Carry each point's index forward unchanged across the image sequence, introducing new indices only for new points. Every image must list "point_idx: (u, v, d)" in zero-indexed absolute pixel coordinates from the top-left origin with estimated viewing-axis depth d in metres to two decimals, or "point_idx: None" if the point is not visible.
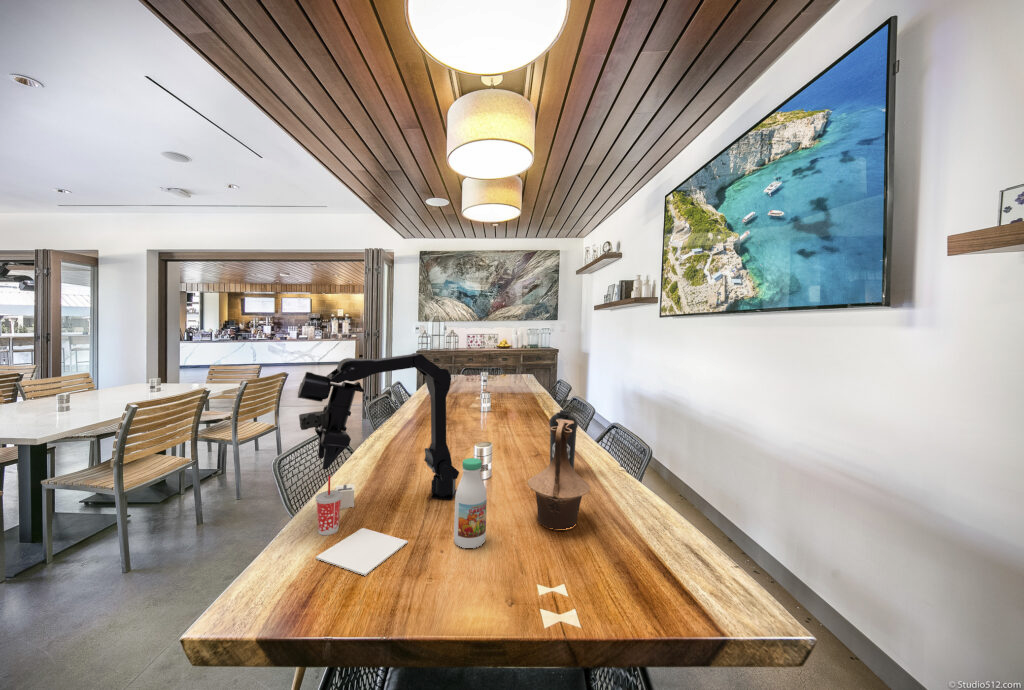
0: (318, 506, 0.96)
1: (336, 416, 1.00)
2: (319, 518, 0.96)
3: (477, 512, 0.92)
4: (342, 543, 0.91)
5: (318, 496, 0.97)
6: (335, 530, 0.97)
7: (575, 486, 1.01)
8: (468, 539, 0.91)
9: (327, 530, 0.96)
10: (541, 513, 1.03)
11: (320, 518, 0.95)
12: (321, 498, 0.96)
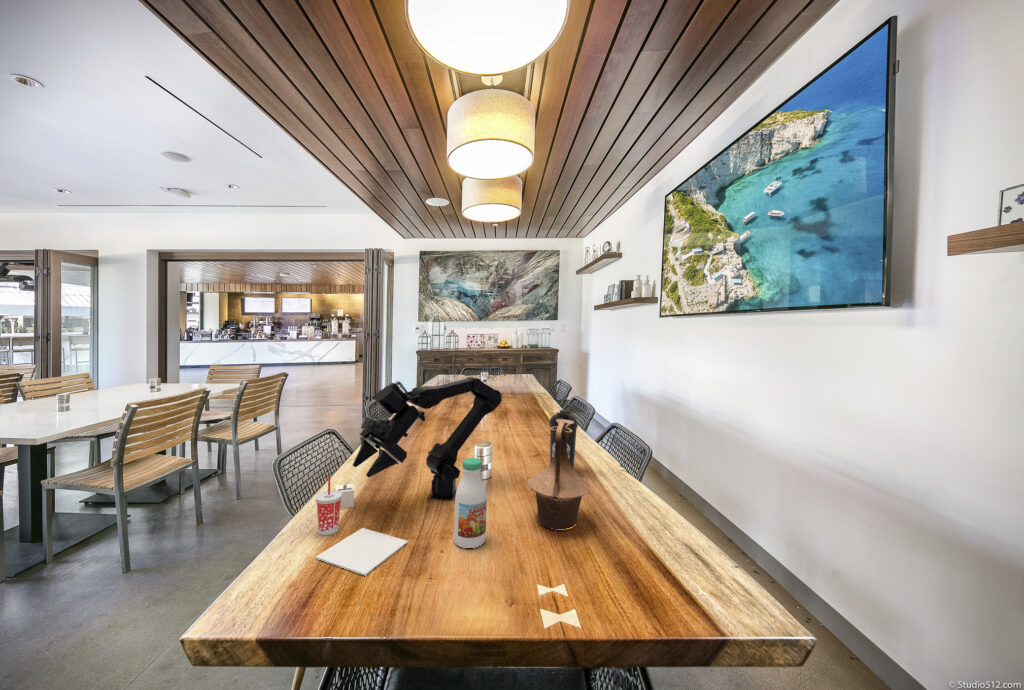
0: (318, 506, 0.96)
1: (397, 432, 1.06)
2: (319, 518, 0.96)
3: (477, 512, 0.92)
4: (342, 543, 0.91)
5: (318, 496, 0.97)
6: (335, 530, 0.97)
7: (575, 486, 1.01)
8: (468, 539, 0.91)
9: (327, 530, 0.96)
10: (541, 513, 1.03)
11: (320, 518, 0.95)
12: (321, 498, 0.96)
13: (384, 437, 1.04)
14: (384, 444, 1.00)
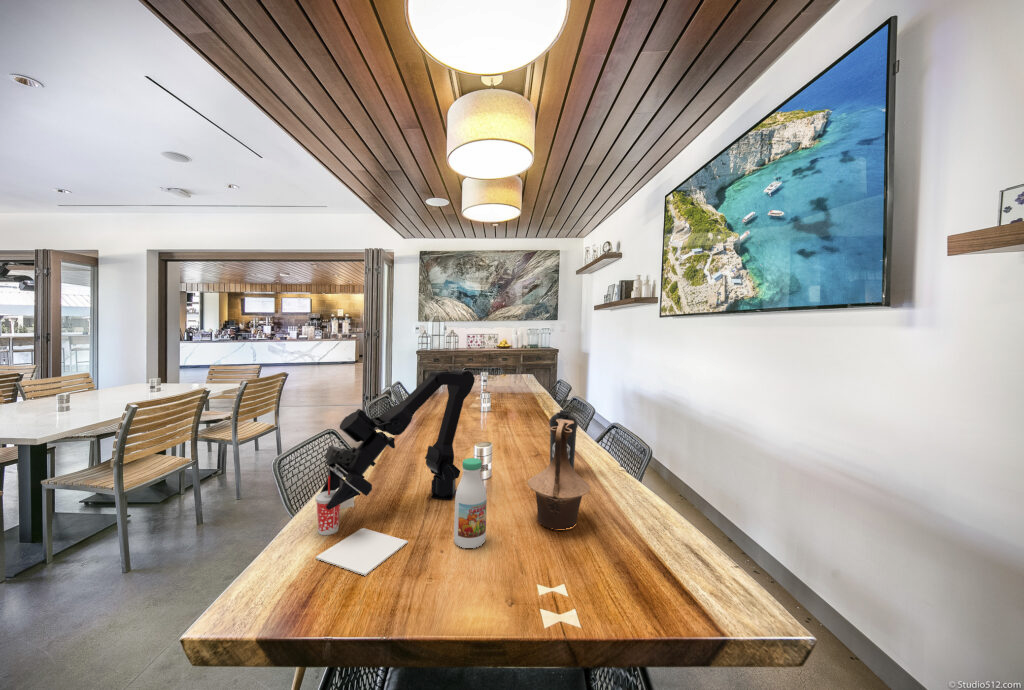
0: (318, 506, 0.96)
1: (363, 461, 1.00)
2: (319, 518, 0.96)
3: (477, 512, 0.92)
4: (342, 543, 0.91)
5: (318, 496, 0.97)
6: (335, 530, 0.97)
7: (575, 486, 1.01)
8: (468, 539, 0.91)
9: (327, 530, 0.96)
10: (541, 513, 1.03)
11: (320, 518, 0.95)
12: (321, 498, 0.96)
13: (348, 468, 0.98)
14: (347, 476, 0.94)
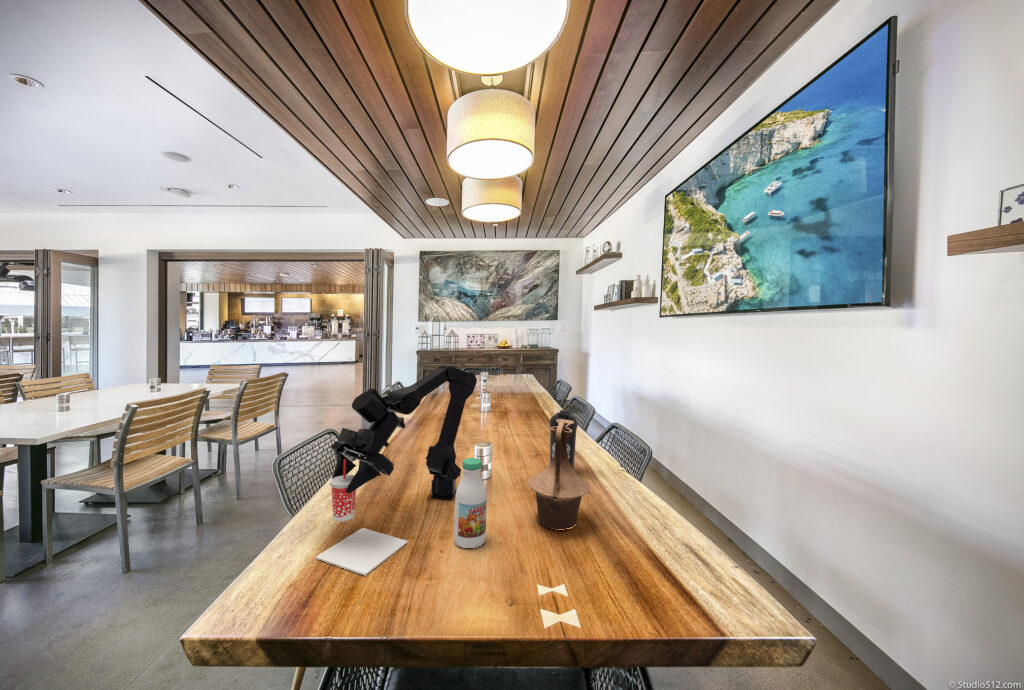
0: (335, 491, 0.90)
1: (379, 442, 0.97)
2: (336, 504, 0.90)
3: (477, 512, 0.92)
4: (342, 543, 0.91)
5: (333, 481, 0.91)
6: (352, 515, 0.93)
7: (575, 486, 1.01)
8: (468, 539, 0.91)
9: (345, 515, 0.91)
10: (541, 513, 1.03)
11: (338, 503, 0.90)
12: (337, 483, 0.91)
13: (366, 449, 0.93)
14: (369, 457, 0.90)
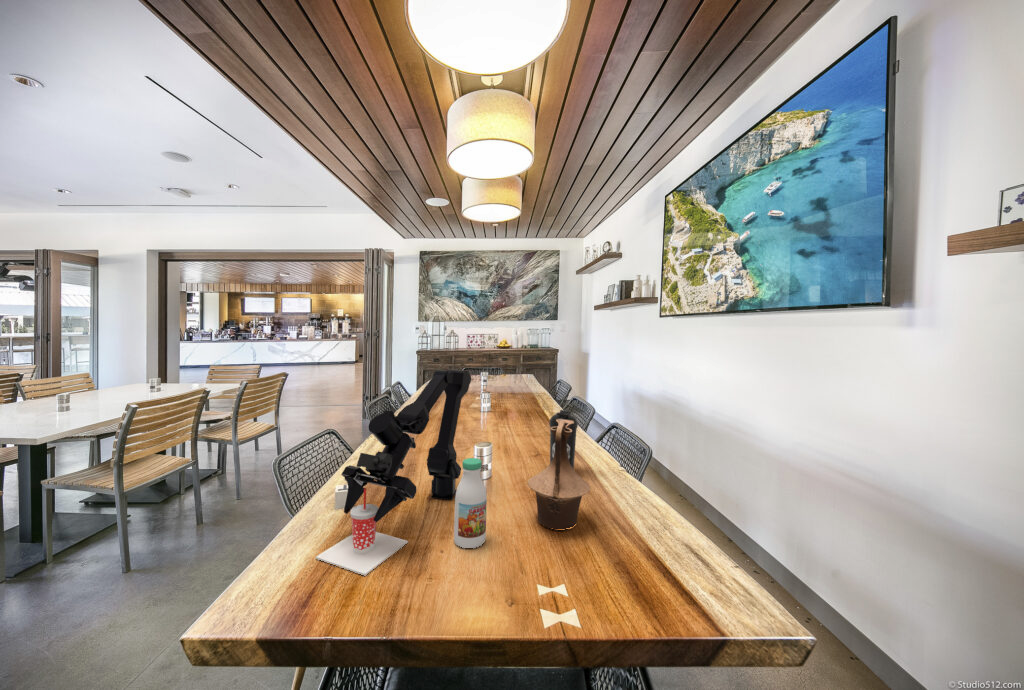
0: (357, 523, 0.87)
1: (396, 464, 0.95)
2: (359, 536, 0.87)
3: (477, 512, 0.92)
4: (342, 543, 0.91)
5: (353, 513, 0.88)
6: None
7: (575, 486, 1.01)
8: (468, 539, 0.91)
9: (368, 547, 0.88)
10: (541, 513, 1.03)
11: (361, 535, 0.87)
12: (359, 514, 0.87)
13: (386, 473, 0.91)
14: (393, 481, 0.89)
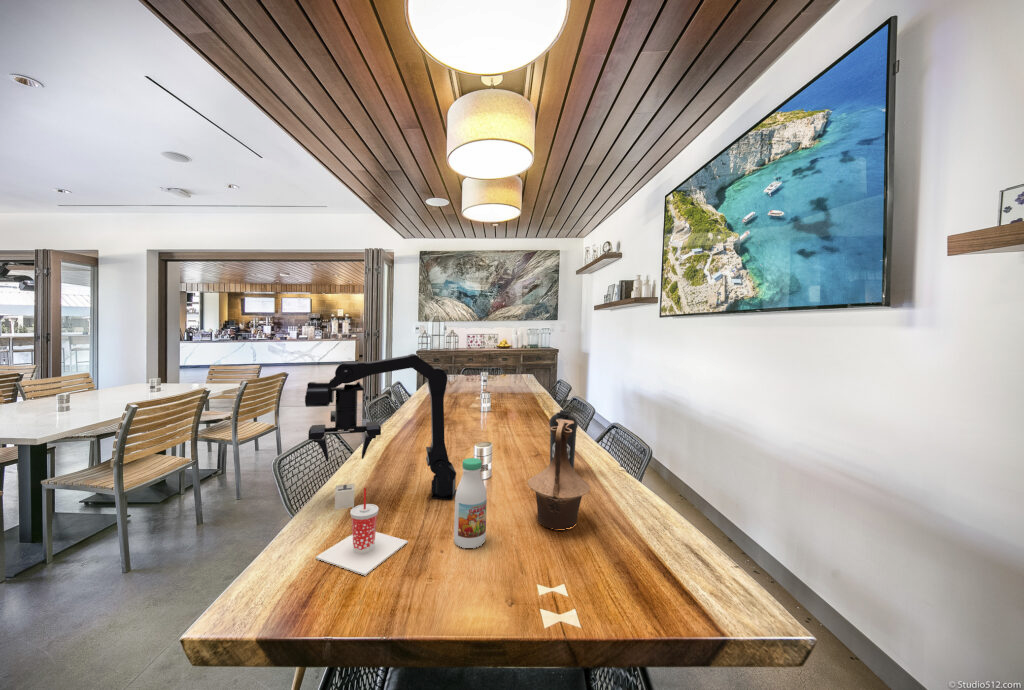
0: (357, 523, 0.87)
1: None
2: (359, 536, 0.87)
3: (477, 512, 0.92)
4: (342, 543, 0.91)
5: (353, 513, 0.88)
6: None
7: (575, 486, 1.01)
8: (468, 539, 0.91)
9: (368, 547, 0.88)
10: (541, 513, 1.03)
11: (361, 535, 0.87)
12: (359, 514, 0.87)
13: None
14: None
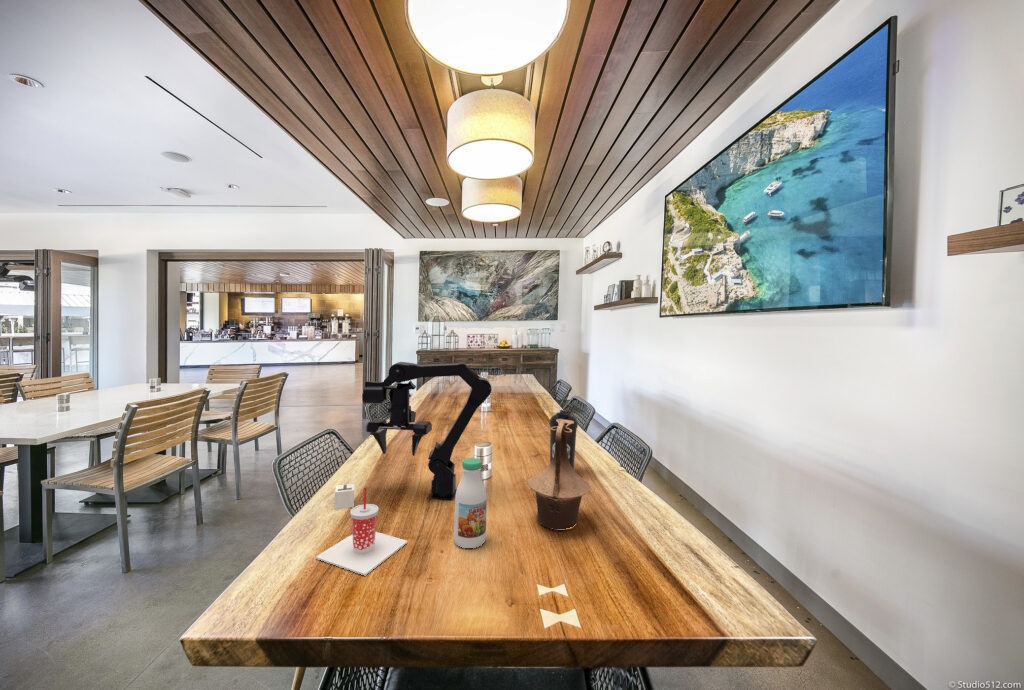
0: (357, 523, 0.87)
1: None
2: (359, 536, 0.87)
3: (477, 512, 0.92)
4: (342, 543, 0.91)
5: (353, 513, 0.88)
6: None
7: (575, 486, 1.01)
8: (468, 539, 0.91)
9: (368, 547, 0.88)
10: (541, 513, 1.03)
11: (361, 535, 0.87)
12: (359, 514, 0.87)
13: None
14: None
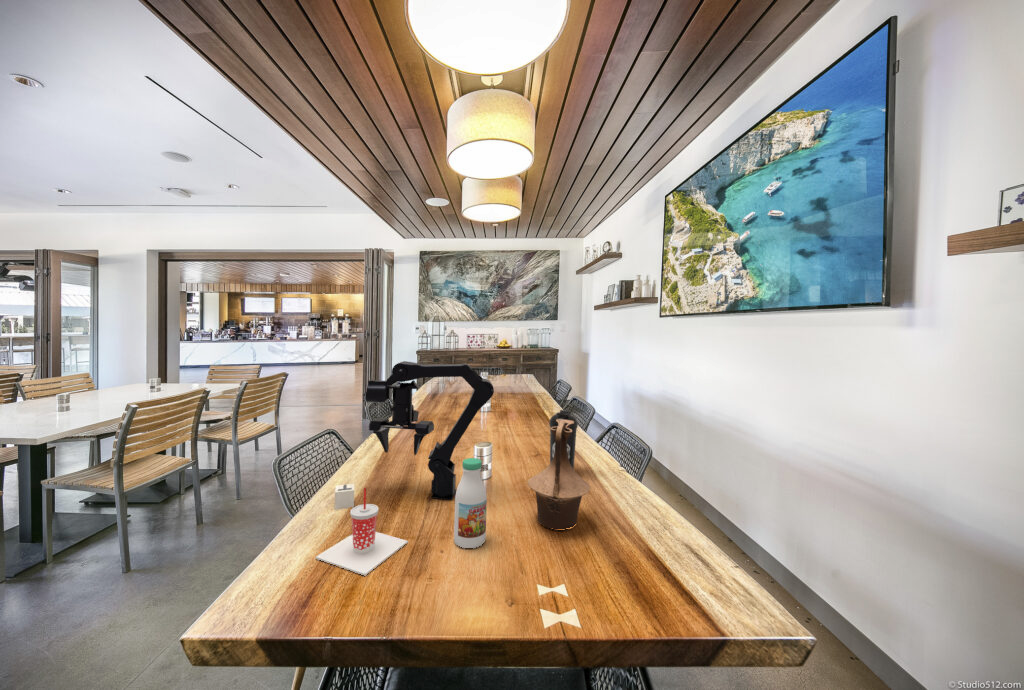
0: (357, 523, 0.87)
1: None
2: (359, 536, 0.87)
3: (477, 512, 0.92)
4: (342, 543, 0.91)
5: (353, 513, 0.88)
6: None
7: (575, 486, 1.01)
8: (468, 539, 0.91)
9: (368, 547, 0.88)
10: (541, 513, 1.03)
11: (361, 535, 0.87)
12: (359, 514, 0.87)
13: None
14: None
